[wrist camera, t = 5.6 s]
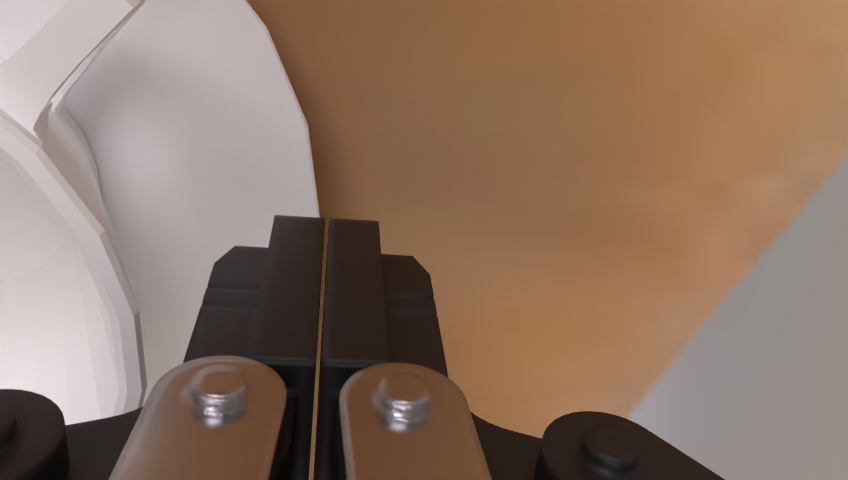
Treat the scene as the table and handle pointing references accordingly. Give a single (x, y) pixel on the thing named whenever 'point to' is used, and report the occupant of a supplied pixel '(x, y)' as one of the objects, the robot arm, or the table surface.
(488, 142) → the table surface
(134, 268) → the teacup
